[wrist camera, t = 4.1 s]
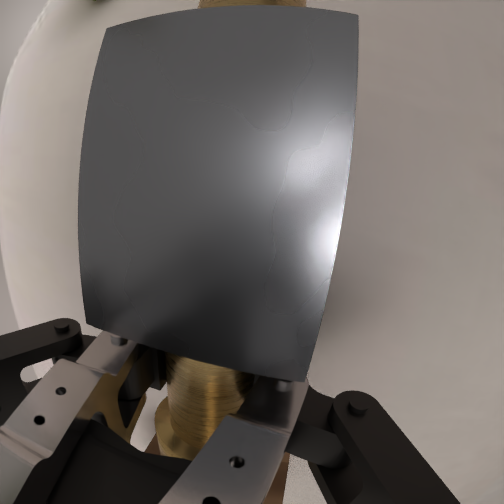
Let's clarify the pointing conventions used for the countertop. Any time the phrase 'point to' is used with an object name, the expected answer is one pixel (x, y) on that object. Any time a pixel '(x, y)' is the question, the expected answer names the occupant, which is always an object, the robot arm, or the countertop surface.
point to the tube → (201, 368)
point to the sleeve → (218, 181)
